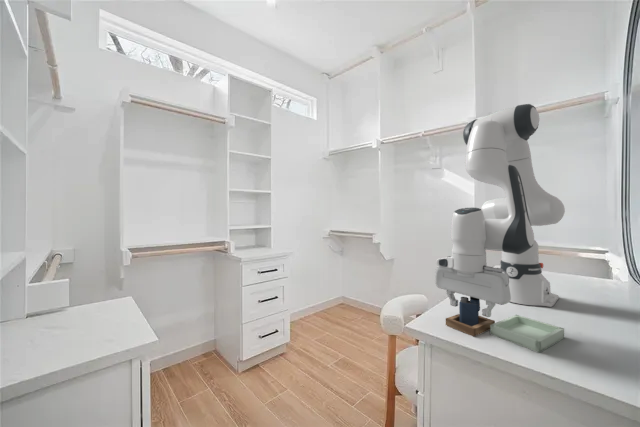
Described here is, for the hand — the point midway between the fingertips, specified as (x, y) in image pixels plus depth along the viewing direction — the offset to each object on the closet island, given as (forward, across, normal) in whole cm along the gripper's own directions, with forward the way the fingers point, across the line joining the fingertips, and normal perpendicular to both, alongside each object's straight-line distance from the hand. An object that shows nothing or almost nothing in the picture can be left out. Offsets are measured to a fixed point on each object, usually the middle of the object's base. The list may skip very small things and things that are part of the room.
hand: (469, 310), depth 74 cm
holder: (+5, 0, 0) cm, 5 cm away
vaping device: (+5, 0, 0) cm, 5 cm away
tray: (+5, -11, -7) cm, 14 cm away
